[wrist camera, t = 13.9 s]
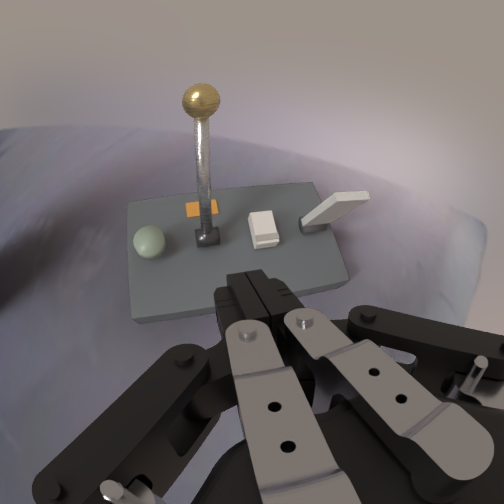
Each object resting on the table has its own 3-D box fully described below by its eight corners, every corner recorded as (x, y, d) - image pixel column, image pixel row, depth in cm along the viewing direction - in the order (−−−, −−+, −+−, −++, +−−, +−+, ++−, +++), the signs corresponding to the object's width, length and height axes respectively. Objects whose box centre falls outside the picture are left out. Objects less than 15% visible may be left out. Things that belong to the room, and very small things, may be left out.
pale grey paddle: (324, 232, 32) (371, 205, 23) (297, 235, 31) (338, 208, 22) (321, 216, 32) (365, 184, 23) (293, 219, 32) (332, 185, 22)
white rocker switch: (275, 246, 30) (280, 240, 28) (254, 249, 30) (257, 243, 28) (268, 216, 31) (272, 209, 29) (247, 218, 31) (250, 211, 29)
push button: (168, 262, 28) (165, 251, 26) (139, 266, 27) (133, 256, 25) (166, 235, 29) (162, 223, 27) (138, 239, 28) (132, 228, 26)
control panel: (338, 287, 33) (350, 279, 30) (138, 323, 28) (131, 318, 25) (306, 195, 38) (313, 181, 35) (132, 215, 33) (126, 201, 30)
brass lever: (224, 251, 28) (223, 84, 17) (195, 255, 28) (181, 87, 16) (219, 233, 30) (217, 80, 19) (192, 237, 30) (180, 82, 18)
